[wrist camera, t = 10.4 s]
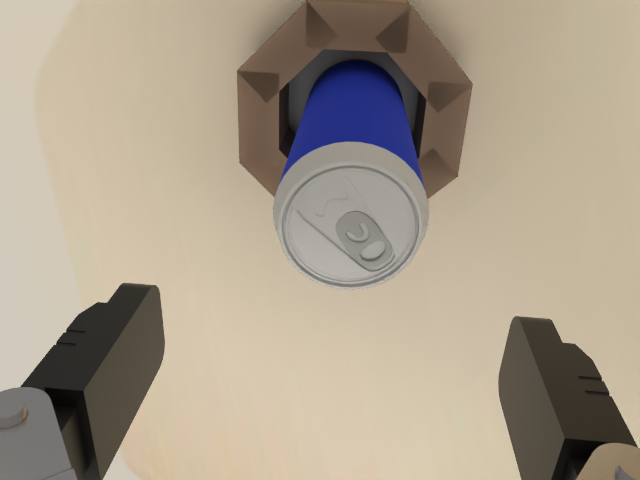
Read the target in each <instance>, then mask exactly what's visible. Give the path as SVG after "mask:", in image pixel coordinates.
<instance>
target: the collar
mask: <svg viewBox="0 0 640 480" xmlns="http://www.w3.org/2000/svg"><path fill="white" fill-rule="evenodd" d="M351 60H361V61H367V62H370V63H373V64H376V65H378V66H380V67H381V68H383V69H384V70H385V71H387V72H388V73H389V74H390V75H391V76H392V77H393V78H394V80H395V81H396V83H397V84H398V86H399V89H400V91H401V94H402V98H403V102H404V106H405V110H406V115H407V119H408V123H409V127H410V131H411V135H412V139H413V143H414V147H415V151H416V155H417V159H418V163H419V167H420V172H421V176H422V180H423V184H424V188H425V192H426V196H427V199H428V198H430V197H431V196H432V195H434V194H435V193H436V192H438V191H439V190H440V189H442V188H443V187H444V186H446V185H447V184H448V183H450V182H451V181H452V180H454V179H455V178H456V177H458V170H459V164H460V158H461V152H462V145H463V139H464V133H465V127H466V121H467V114H468V108H469V102H470V96H471V90H472V83H471V81H470V80H469V79H468V77H467V76H466V74H465V73H464V72H463V70H462V69H461V67H459V65H458V64H457V63H456V62H455V60H454V59H453V58H452V57H451V55H450V54H449V53H448V52H447V50H446V49H445V48H444V46H443V45H442V44H441V43H440V41H439V40H438V39H437V38H436V36H435V35H434V34H433V32H432V31H431V30H430V29H429V28H428V26H427V25H426V24H425V22H424V21H423V20H422V19H421V17H420V16H419V15H418V14H417V12H416V11H415V10H414V9H413V7H412V6H411V5H410V4H409V2H408V1H407V0H307V2H306V3H305V4H304V5H303V6H302V7H301V8H300V9H299V10H298V11H297V12H296V13H295V14H294V15H293V16H292V17H291V18H290V19H289V20H288V21H287V22H286V23H285V24H284V25H283V26H282V27H281V28H280V29H279V30H278V31H277V32H276V33H275V34H274V35H273V36H272V37H271V38H270V39H269V40H268V41H267V42H266V43H265V44H264V45H263V46H262V47H261V48H260V49H259V50H258V51H257V52H256V53H255V54H254V55H253V56H251V57H250V58H249V59H248V60H247V61H246V62H245V63H244V64H243V65H242V66H241V67H240V68H239V69H238V70H237V85H238V122H239V159H240V162H239V163H240V164H241V165H242V166H243V167H244V168H245V169H246V170H247V171H248V172H249V173H250V174H251V175H252V176H254V177H255V178H256V179H257V180H258V181H259V182H260V183H261V184H262V185H263V186H264V187H265V188H266V189H267V190H268V191H269V192H270V193H271V194H272V195H273V196H274V197H275V195H276V192H277V189H278V186H279V183H280V180H281V177H282V174H283V171H284V168H285V165H286V162H287V159H288V156H289V153H290V150H291V147H292V144H293V142H294V139H295V136H296V133H297V130H298V127H299V124H300V121H301V118H302V115H303V112H304V109H305V106H306V103H307V100H308V97H309V94H310V91H311V89H312V87H313V85H314V83H315V82H316V80H317V79H318V78H319V76H320V75H322V74H323V73H324V72H325V71H326V70H327V69H329V68H330V67H332V66H334V65H336V64H338V63H341V62H345V61H351Z"/></svg>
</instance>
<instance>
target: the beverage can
mask: <svg viewBox="0 0 640 480" xmlns="http://www.w3.org/2000/svg"><path fill="white" fill-rule="evenodd" d="M273 214H274V223H275V228H276V231H277V234H278V237H279V239H280V242H281V245H282V247H283V250H284V252H285V254H286V256H287V257H288V259H289V261H290V262H291V263H292V264H293V265H294V267H295V268H296V269H297V270H299V271H300V272H301V273H302V274H303V275H305V276H306V277H308V278H309V279H311V280H312V281H315V282H317V283H319V284H321V285H324V286H327V287H330V288H336V289H344V290H355V289H364V288H368V287H373V286H375V285H378V284H381V283H383V282H385V281H387V280H389V279H391V278H392V277H394V276H395V275H397V274H398V273H399V272H401V271H402V270H403V269H404V268H405V267H406V266H407V265H408V264H409V262H410V261H411V259H412V258H413V257H414V255H415V253H416V251H417V249H418V248H419V246H420V244H421V242H422V240H423V238H424V236H425V232H426V229H427V225H428V217H429V209H428V200H427V196H426V192H425V188H424V184H423V180H422V176H421V172H420V167H419V163H418V159H417V155H416V151H415V147H414V143H413V139H412V135H411V131H410V127H409V123H408V119H407V115H406V110H405V106H404V102H403V98H402V94H401V91H400V89H399V86H398V84H397V83H396V81H395V80H394V78H393V77H392V76H391V75H390V74H389V73H388V72H387V71H385V70H384V69H383V68H381V67H380V66H378V65H376V64H373V63H370V62H367V61H361V60H351V61H345V62H341V63H338V64H336V65H334V66H332V67H330V68H329V69H327V70H326V71H325V72H324V73H323V74H322V75H320V76H319V78H318V79H317V80H316V82H315V83H314V85H313V87H312V89H311V91H310V94H309V97H308V100H307V103H306V106H305V109H304V112H303V115H302V118H301V121H300V124H299V127H298V130H297V133H296V136H295V139H294V142H293V144H292V147H291V150H290V153H289V156H288V159H287V162H286V165H285V168H284V171H283V174H282V177H281V180H280V183H279V186H278V189H277V192H276V195H275V200H274V207H273Z"/></svg>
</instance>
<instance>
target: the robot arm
mask: <svg viewBox="0 0 640 480" xmlns="http://www.w3.org/2000/svg"><path fill="white" fill-rule="evenodd" d="M164 348H165V339H164V329H163V319H162V309H161V300H160V292H159V289H158V287H157V286H156V285H145V284H133V283H123V284H121V285H120V286H119V288H118V289H117V290H116V292H115V293H114V294H113V296H112V297H111V298H110V300H109V301H108V302H107V303H100V302H97V303H96V304H94V305H93V306H91V307H90V308H88V309H86V310H85V311H83V312H82V313H80V314H79V315H78V316H77V317H76V318H75V320H74V321H73V322H72V323H71V324H70V326H69V327H68V328H67V330H66V333H63V335H62V336H61V337H60V338H59V339H58V341H57V343H56V345H54V346H53V347H52V348H51V349H50V351H49V352H48V353H47V354H46V356H45V357H44V358H43V359H42V361H41V362H40V363H39V364H38V366H37V367H36V368H35V369H34V371H33V372H32V373H31V374H30V376H29V377H28V378H27V379H26V381H25V382H24V383H23V384H22V385H21V387H20V388H19V387H18V388H12V389H8V390H4V391H2V392H0V480H103V478H104V476H105V474H106V472H107V470H108V468H109V466H110V464H111V462H112V460H113V458H114V456H115V454H116V452H117V451H118V449H119V447H120V445H121V443H122V441H123V439H124V437H125V435H126V433H127V431H128V429H129V427H130V425H131V423H132V421H133V419H134V417H135V415H136V413H137V411H138V409H139V407H140V405H141V403H142V401H143V400H144V398H145V396H146V394H147V392H148V390H149V388H150V386H151V384H152V382H153V380H154V378H155V376H156V374H157V372H158V370H159V368H160V366H161V363H162V360H163V355H164ZM499 397H500V402H501V406H502V409H503V413H504V417H505V420H506V424H507V428H508V431H509V435H510V439H511V442H512V446H513V450H514V453H515V457H516V461H517V464H518V468H519V472H520V476H521V479H522V480H640V448H638V447H637V445H636V443H635V441H634V439H633V437H632V435H631V433H630V431H629V429H628V427H627V425H626V424H625V422H624V420H623V418H622V416H621V414H620V412H619V410H618V408H617V406H616V404H615V402H614V400H613V398H612V397H611V396H609V391H608V389H607V387H606V385H605V383H604V382H603V381H602V377H601V375H600V373H599V372H598V370H597V368H596V366H595V364H594V362H593V360H592V359H591V358H590V357H589V356H587V355H586V354H585V353H584V352H583V351H582V350H581V349H580V348H579V347H578V346H576V345H575V344H570V343H562V341H561V339H560V336H559V334H558V332H557V330H556V328H555V326H554V324H553V322H552V320H550V319H543V318H531V317H519V316H515V317H514V318H513V320H512V322H511V325H510V329H509V334H508V338H507V342H506V346H505V351H504V355H503V359H502V363H501V367H500V372H499Z"/></svg>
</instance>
